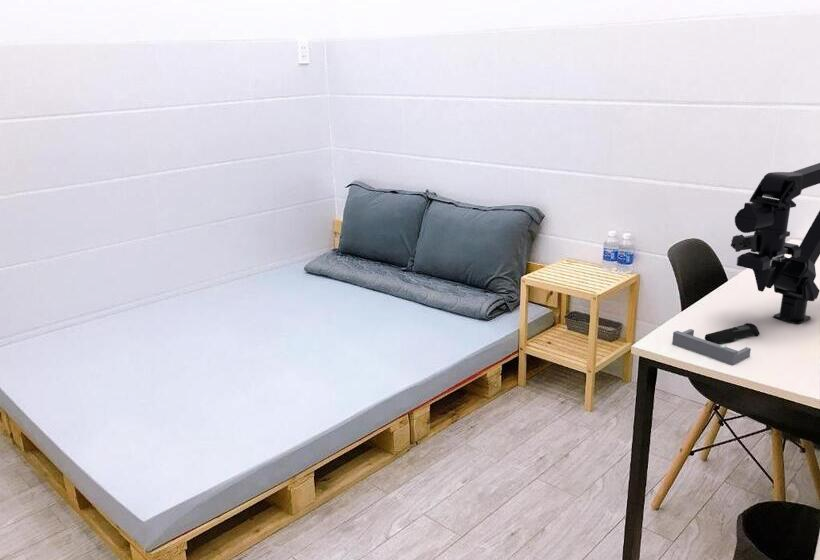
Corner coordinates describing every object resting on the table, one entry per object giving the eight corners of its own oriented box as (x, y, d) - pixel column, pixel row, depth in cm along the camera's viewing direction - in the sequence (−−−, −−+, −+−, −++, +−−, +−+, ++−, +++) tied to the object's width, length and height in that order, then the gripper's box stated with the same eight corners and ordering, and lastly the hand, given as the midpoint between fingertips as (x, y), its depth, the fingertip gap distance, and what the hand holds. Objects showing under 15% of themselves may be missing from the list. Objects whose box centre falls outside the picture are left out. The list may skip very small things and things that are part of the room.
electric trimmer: (699, 343, 162) (700, 331, 161) (747, 331, 167) (749, 319, 166) (711, 349, 158) (713, 336, 157) (760, 336, 164) (762, 324, 163)
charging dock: (689, 336, 165) (690, 323, 163) (749, 356, 153) (751, 342, 152) (672, 343, 161) (673, 330, 160) (732, 365, 149) (734, 351, 148)
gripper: (760, 215, 172) (752, 274, 177) (719, 227, 162) (712, 289, 167) (806, 223, 163) (796, 284, 168) (765, 236, 153) (756, 301, 158)
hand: (764, 289), depth 165 cm, fingers open, 3 cm apart
